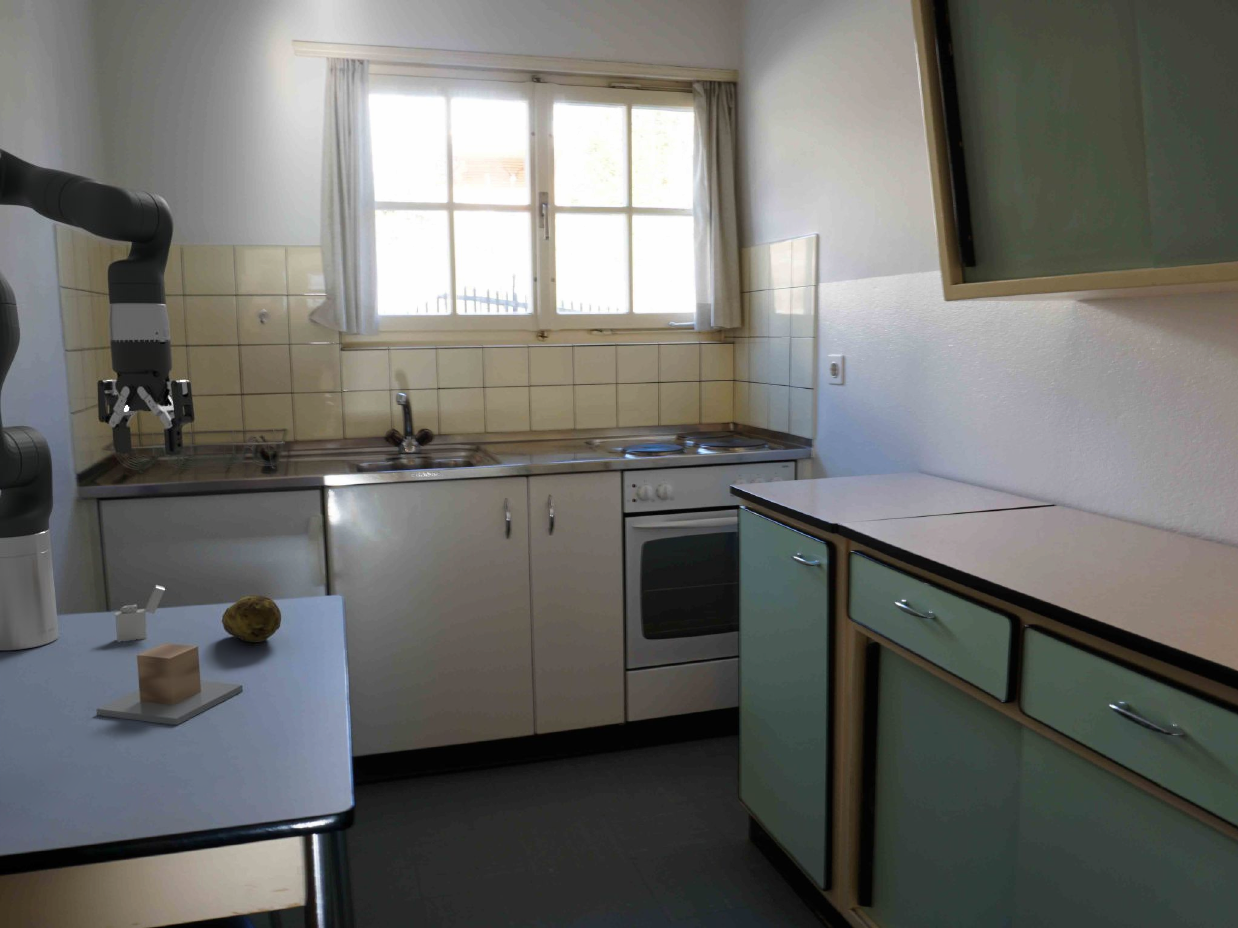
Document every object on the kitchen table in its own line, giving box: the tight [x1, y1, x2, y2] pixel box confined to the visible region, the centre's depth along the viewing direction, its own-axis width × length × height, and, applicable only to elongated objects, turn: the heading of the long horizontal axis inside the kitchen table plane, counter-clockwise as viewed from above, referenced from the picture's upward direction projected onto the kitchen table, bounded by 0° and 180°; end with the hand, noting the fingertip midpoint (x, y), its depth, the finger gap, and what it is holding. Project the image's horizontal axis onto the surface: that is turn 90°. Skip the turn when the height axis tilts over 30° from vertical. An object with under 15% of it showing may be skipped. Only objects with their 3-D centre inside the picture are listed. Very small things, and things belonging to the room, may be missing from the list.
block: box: [136, 642, 201, 705], centre depth 125 cm, size 5×5×6 cm
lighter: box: [115, 584, 166, 643], centre depth 153 cm, size 7×2×8 cm, turn 118°
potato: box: [221, 595, 282, 643], centre depth 149 cm, size 8×13×8 cm, turn 23°
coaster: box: [96, 679, 244, 726], centre depth 125 cm, size 12×12×1 cm
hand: (148, 454), depth 137 cm, fingers open, 8 cm apart
